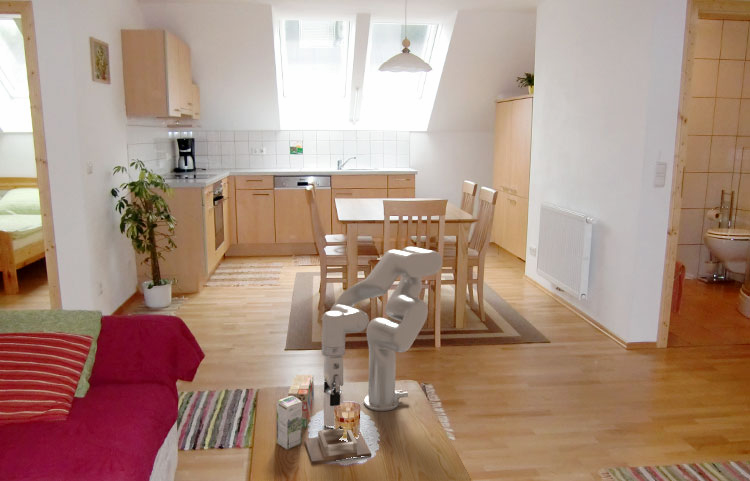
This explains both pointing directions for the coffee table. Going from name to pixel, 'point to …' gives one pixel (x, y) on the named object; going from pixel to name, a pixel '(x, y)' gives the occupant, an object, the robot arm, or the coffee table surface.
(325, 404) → the can
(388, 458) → the coffee table surface
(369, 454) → the collar board
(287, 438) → the syrup box
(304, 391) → the stack of blocks
